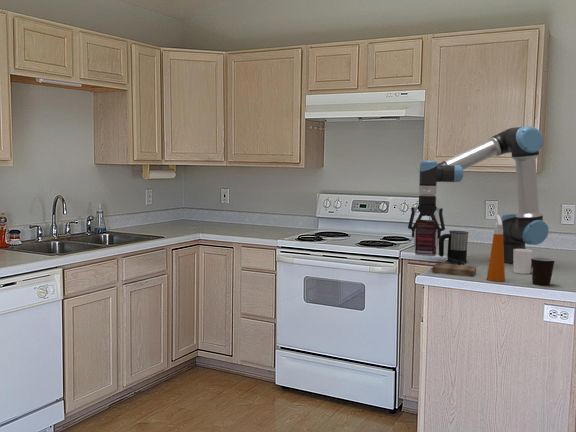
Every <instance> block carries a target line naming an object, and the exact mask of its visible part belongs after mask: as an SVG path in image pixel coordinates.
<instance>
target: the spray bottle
mask: <svg viewBox="0 0 576 432" xmlns="http://www.w3.org/2000/svg"><path fill="white" fill-rule="evenodd" d="M501 219H502V217H500V214H495V225H494V229H493V237H492V243H491V250H490V258H489V261H488V267H487V274H486V280H488V281H490V282H491V281H492V282H497V281H499V282H500V281H501V282H505V281H506V275H505V274H506V272H505V262H504V245H503V225H502V220H501Z"/></svg>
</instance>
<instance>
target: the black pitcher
mask: <svg viewBox="0 0 576 432" xmlns="http://www.w3.org/2000/svg"><path fill="white" fill-rule="evenodd" d="M448 232H449V233H442V234H441V238H440V239H438V256H439V257H441V258H443V257H444V255H445V254H444V253H445V252H444V251H445V240H446V239H448V240H447V241H448V242H447V253H446V254H447V256H446V258H447V260H446V261H447V262H448V263H450V264H455V265H466V264H467V263H468V261H467V255H468V241H469V239H468V238H469V231H464V230H449V231H448Z"/></svg>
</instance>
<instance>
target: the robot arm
mask: <svg viewBox="0 0 576 432" xmlns="http://www.w3.org/2000/svg"><path fill="white" fill-rule="evenodd" d="M543 137H544V136H543V134H542V132H541V131H540V130H539V129H538V128H536V127H534V126H528V125H527V126H525V125H524V126H517V127H510V128H507V129H505V130H503V131H501V132H499V133H497V134H494V135H493V136H490V137H489V138H488V140H486V141H485V142H482V143H481V144H478V145H476V146H473V147H472V148H470V149H467V150H465V151H463V152H461V153H458V154H456V155H454V156H452V157H450V158H447V159H445V160H443V161H441V162H439V163H438V161H437V160H421V161H420V163H419V186H418V194H419V196H418V205H417V206H413V207H410V210H411V214H410V217H409V222H408V226H407V228H408V230H411V237H412V238H413V246H415V243H416V221H415V222H414V219H415V216H416V215H415V214H416V212H417V211H418V212H419V215H418V216H417V218H416V220H422V218H423V217H431V220H433V221H435V227H436V229H437V231H436V239H435V246H436V248H437V247H439V239H440V238H441V235H442V234H441V232H443V231H445V230H446V227H445V221H444V216H443V211H444V208H443V207H441V208H440V207H437V196H436V195H437V184H438V183H460V182H461V181H462V180H463V178H464V170H465V169H468V168H470V167H472V166H474V165H477V164H479V163H481V162H483V161H485V160H487V159H489V158H492V157H494V156H496V157H499V156H502V155H504V154H510V153H511V159H513V160H514V161H515V173H516V175H515V176H516V187H517V202H518V203H517V204H518V213H516V214H515V213H514V214H509V213H508V214H503V215H502V217H501V220H502V225H503V245H504V264H513V249H527V248H526V244H527V245H532V246H536V245H540V244H542V243H544V242H545V240H546V239H547V238H548V236H549V231H550V230H549V226H548V224H547V223H546V222H545V221H544V216H543V213H542V212H541V211H540V210H539V209H540V208H539V194H538V193H539V192H538V191H539V190H538V178H537V176H538V175H537V162H536V161H537V160H536V159H537V158H538V157H539V156H540V149H542V148H541V147H542V146H543V145H544V138H543ZM436 211H437V214H438V217H439V222H440V225H439V223H438V219H437V218H436V215H435V213H436ZM413 223H414V224H413Z"/></svg>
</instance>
